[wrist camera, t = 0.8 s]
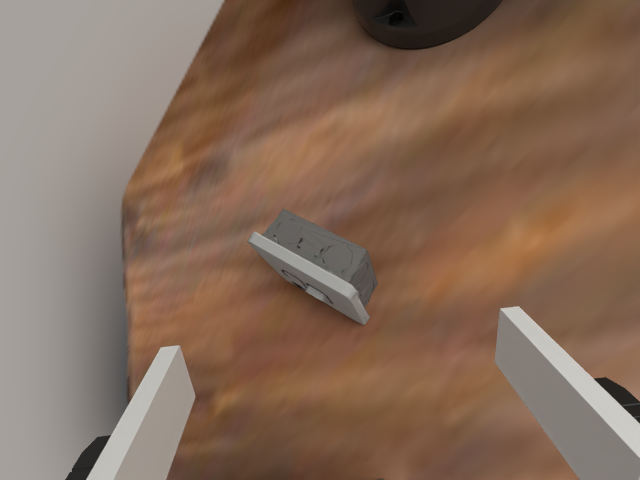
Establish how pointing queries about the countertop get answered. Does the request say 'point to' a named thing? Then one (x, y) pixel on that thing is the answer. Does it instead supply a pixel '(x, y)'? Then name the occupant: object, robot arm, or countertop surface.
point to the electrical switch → (319, 263)
